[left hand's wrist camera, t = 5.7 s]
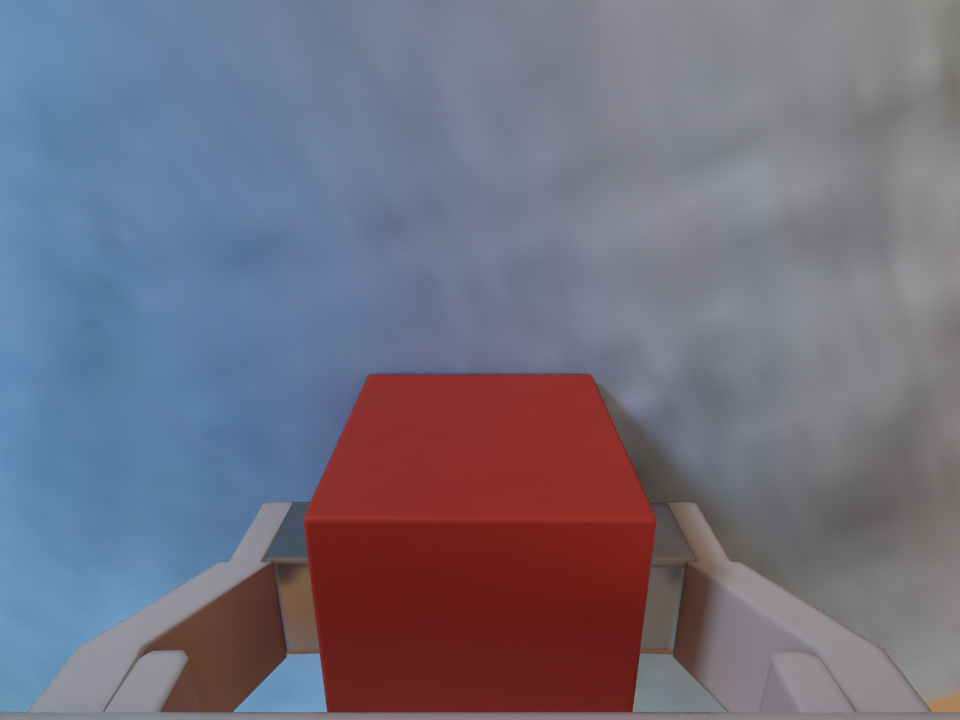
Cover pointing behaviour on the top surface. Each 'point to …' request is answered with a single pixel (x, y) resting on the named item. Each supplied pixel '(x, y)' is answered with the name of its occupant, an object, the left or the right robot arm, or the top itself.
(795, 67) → the top surface
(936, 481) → the top surface
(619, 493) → the block
